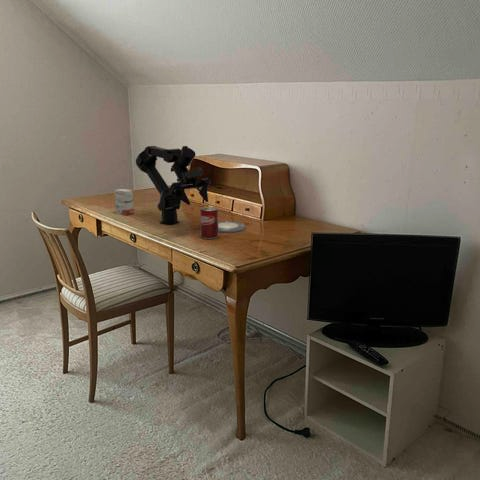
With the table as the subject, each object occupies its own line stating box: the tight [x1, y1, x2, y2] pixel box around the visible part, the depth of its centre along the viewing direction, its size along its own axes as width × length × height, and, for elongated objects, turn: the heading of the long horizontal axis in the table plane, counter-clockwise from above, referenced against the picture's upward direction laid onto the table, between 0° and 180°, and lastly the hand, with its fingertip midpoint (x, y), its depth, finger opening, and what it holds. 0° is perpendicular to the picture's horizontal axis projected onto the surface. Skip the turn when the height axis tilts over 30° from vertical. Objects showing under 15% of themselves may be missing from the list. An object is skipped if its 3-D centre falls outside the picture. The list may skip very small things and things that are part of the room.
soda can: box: [199, 206, 219, 240], centre depth 204 cm, size 7×7×12 cm
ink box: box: [114, 188, 135, 216], centre depth 243 cm, size 9×5×12 cm, turn 53°
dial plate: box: [218, 220, 246, 234], centre depth 219 cm, size 16×16×1 cm
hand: (198, 203), depth 207 cm, fingers open, 9 cm apart
